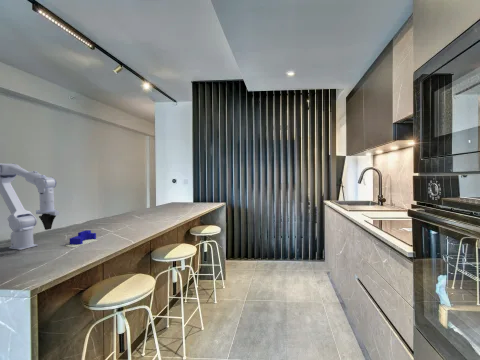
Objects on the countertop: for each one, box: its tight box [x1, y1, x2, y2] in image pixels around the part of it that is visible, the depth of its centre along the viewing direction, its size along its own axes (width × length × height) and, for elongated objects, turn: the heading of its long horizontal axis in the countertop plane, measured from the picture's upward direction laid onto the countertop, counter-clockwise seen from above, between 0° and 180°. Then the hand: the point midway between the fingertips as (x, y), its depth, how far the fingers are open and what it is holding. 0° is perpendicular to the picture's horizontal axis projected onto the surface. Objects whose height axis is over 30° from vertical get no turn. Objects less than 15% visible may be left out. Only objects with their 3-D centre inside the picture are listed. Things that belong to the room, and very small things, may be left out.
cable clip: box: [69, 229, 97, 245], centre depth 138 cm, size 12×4×6 cm
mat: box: [65, 239, 99, 248], centre depth 135 cm, size 6×14×1 cm, turn 158°
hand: (48, 229), depth 126 cm, fingers closed
